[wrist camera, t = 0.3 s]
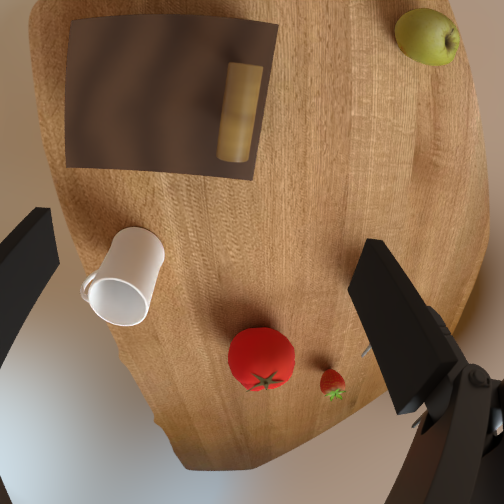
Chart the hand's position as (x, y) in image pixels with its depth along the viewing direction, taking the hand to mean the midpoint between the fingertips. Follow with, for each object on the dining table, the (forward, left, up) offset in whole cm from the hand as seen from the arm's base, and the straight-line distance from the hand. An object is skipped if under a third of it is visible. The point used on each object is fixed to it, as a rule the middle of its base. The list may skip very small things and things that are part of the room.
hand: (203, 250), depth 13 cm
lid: (-4, -6, -19) cm, 20 cm away
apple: (-17, +23, -30) cm, 42 cm away
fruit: (+47, +28, -30) cm, 62 cm away
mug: (+21, -12, -30) cm, 39 cm away
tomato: (+37, +11, -30) cm, 49 cm away
